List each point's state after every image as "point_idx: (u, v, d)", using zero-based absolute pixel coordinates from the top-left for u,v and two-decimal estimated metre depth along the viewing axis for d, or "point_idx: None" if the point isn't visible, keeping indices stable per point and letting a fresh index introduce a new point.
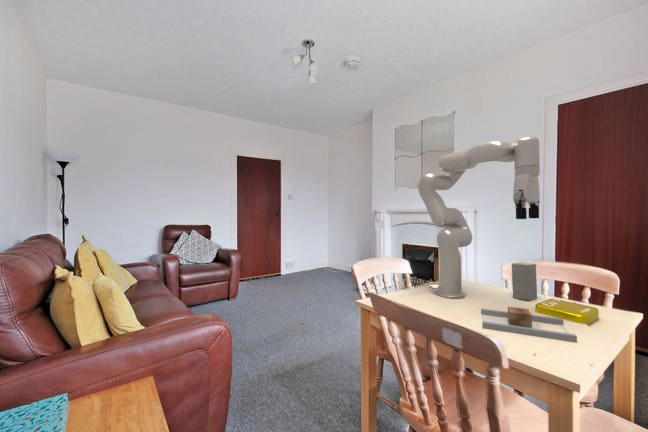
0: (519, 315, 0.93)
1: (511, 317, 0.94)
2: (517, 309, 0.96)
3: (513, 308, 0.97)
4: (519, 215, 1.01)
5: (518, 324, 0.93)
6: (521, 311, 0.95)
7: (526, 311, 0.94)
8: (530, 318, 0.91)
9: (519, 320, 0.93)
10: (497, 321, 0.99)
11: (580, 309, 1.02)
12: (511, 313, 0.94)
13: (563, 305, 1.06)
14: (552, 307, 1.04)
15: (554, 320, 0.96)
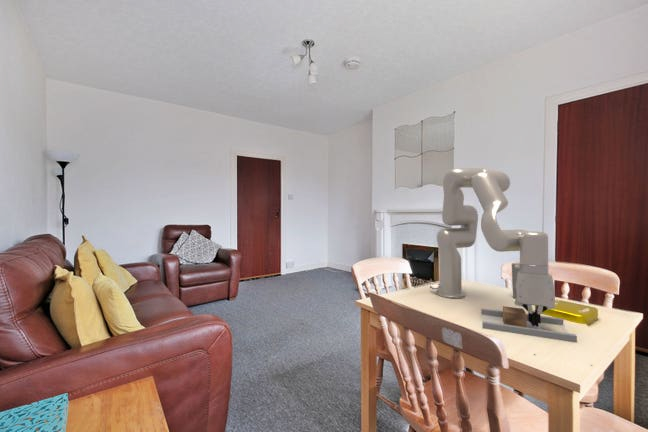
0: (514, 314, 0.93)
1: (506, 316, 0.94)
2: (512, 309, 0.96)
3: (508, 308, 0.98)
4: None
5: (513, 323, 0.93)
6: (516, 310, 0.95)
7: (521, 310, 0.95)
8: (525, 317, 0.92)
9: (513, 319, 0.93)
10: (497, 321, 0.99)
11: (579, 309, 1.02)
12: (506, 313, 0.94)
13: (562, 305, 1.06)
14: None
15: (554, 320, 0.96)
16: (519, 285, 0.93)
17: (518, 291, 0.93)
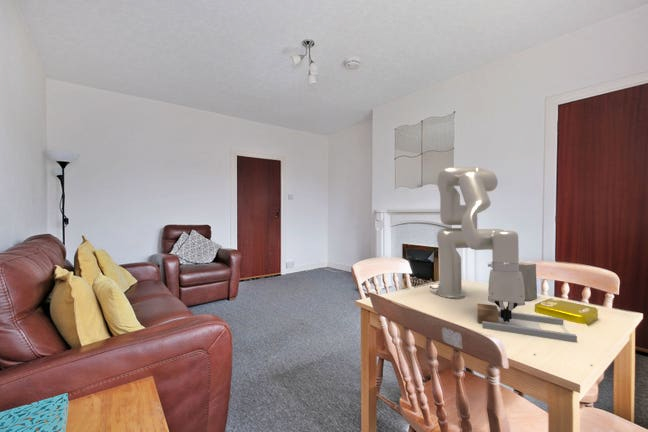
0: (487, 311, 0.96)
1: (479, 313, 0.97)
2: (486, 306, 1.00)
3: (482, 305, 1.01)
4: None
5: (486, 320, 0.97)
6: (489, 307, 0.98)
7: (494, 307, 0.98)
8: (496, 314, 0.95)
9: (486, 316, 0.97)
10: None
11: (579, 309, 1.02)
12: (479, 309, 0.97)
13: (562, 305, 1.06)
14: (551, 307, 1.04)
15: (554, 320, 0.96)
16: (491, 282, 0.96)
17: (490, 288, 0.96)
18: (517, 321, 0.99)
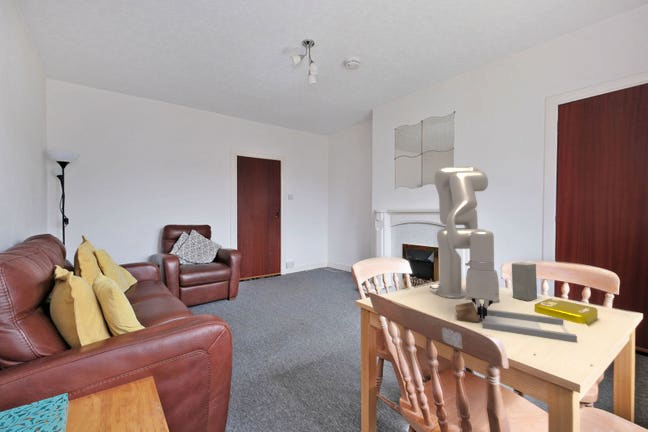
0: (464, 310, 0.99)
1: (459, 314, 1.00)
2: (463, 305, 1.03)
3: (460, 305, 1.04)
4: (486, 314, 0.99)
5: (466, 319, 0.99)
6: (465, 306, 1.01)
7: (470, 304, 1.01)
8: (473, 310, 0.98)
9: (465, 315, 0.99)
10: (497, 321, 0.99)
11: (579, 309, 1.02)
12: (457, 311, 1.00)
13: (562, 305, 1.06)
14: (551, 307, 1.04)
15: (554, 320, 0.96)
16: (468, 280, 1.00)
17: (467, 286, 1.00)
18: (517, 321, 0.99)
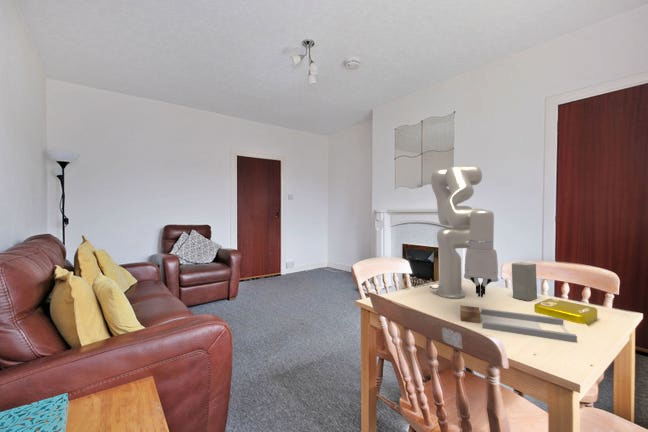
0: (470, 313, 0.99)
1: (462, 315, 1.00)
2: (469, 308, 1.02)
3: (465, 307, 1.03)
4: None
5: None
6: (471, 309, 1.01)
7: (476, 309, 1.01)
8: (479, 316, 0.98)
9: (469, 317, 0.99)
10: (497, 321, 0.99)
11: (579, 309, 1.02)
12: (462, 311, 1.00)
13: (562, 305, 1.06)
14: (551, 307, 1.04)
15: (554, 320, 0.96)
16: (467, 260, 1.00)
17: (466, 265, 1.00)
18: (517, 321, 0.99)
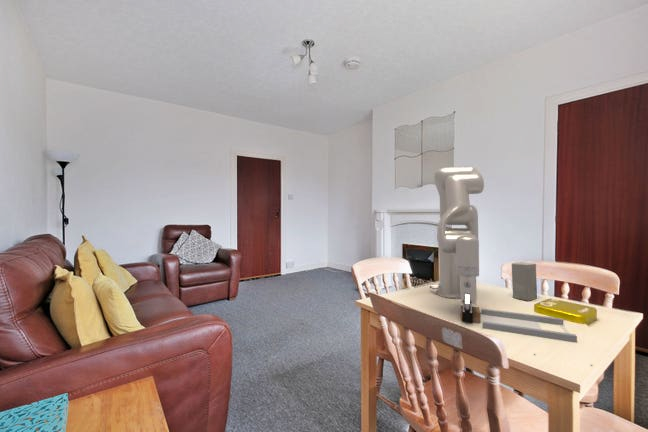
0: None
1: None
2: None
3: None
4: None
5: None
6: None
7: (476, 309, 1.01)
8: (479, 315, 0.98)
9: None
10: (497, 321, 0.99)
11: (579, 309, 1.02)
12: None
13: (561, 305, 1.06)
14: (551, 307, 1.04)
15: (554, 320, 0.96)
16: (475, 288, 0.97)
17: (475, 294, 0.97)
18: (517, 321, 0.99)
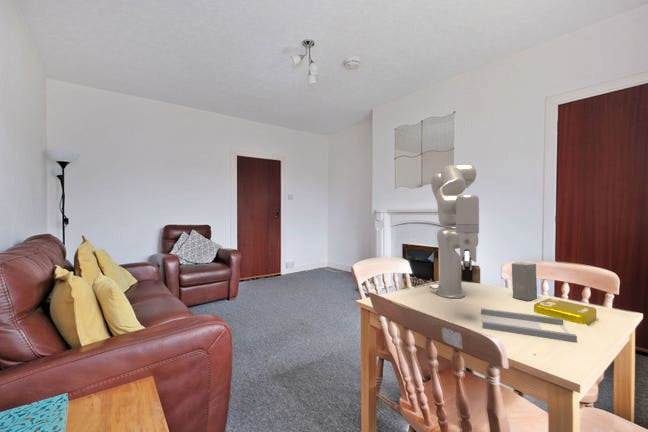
0: None
1: None
2: None
3: None
4: None
5: None
6: None
7: (476, 267, 1.02)
8: (479, 272, 0.98)
9: None
10: (497, 321, 0.99)
11: (578, 309, 1.02)
12: (462, 268, 1.00)
13: (561, 305, 1.06)
14: (551, 307, 1.04)
15: (554, 320, 0.96)
16: (475, 245, 0.97)
17: (475, 251, 0.97)
18: (517, 321, 0.99)
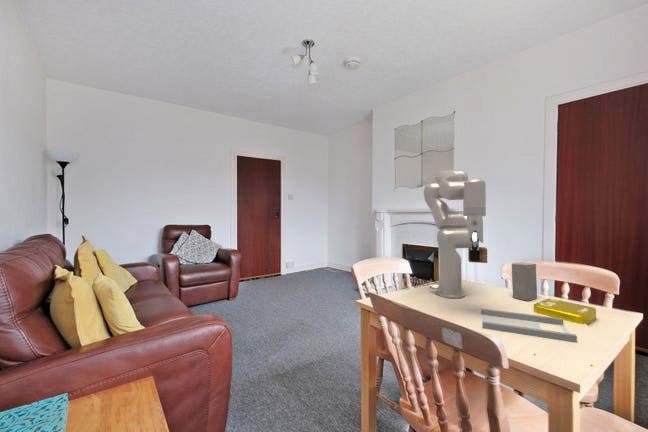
0: None
1: None
2: None
3: None
4: None
5: None
6: (479, 248, 1.07)
7: (483, 248, 1.07)
8: (486, 252, 1.04)
9: None
10: (497, 321, 0.99)
11: (578, 309, 1.02)
12: (470, 249, 1.06)
13: (561, 305, 1.06)
14: (550, 307, 1.04)
15: (554, 320, 0.96)
16: (482, 226, 1.03)
17: (482, 232, 1.03)
18: (517, 321, 0.99)
